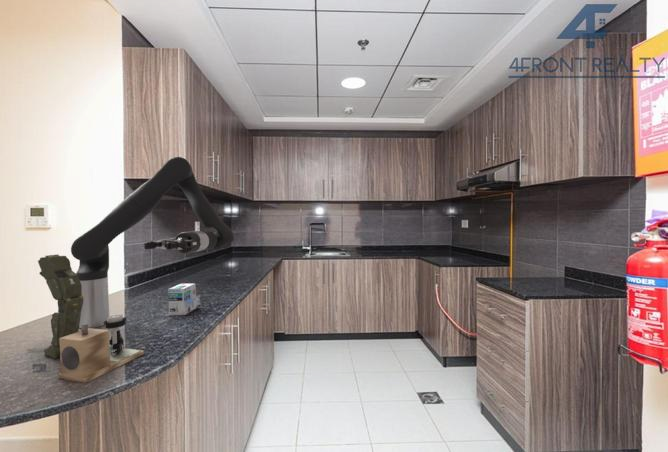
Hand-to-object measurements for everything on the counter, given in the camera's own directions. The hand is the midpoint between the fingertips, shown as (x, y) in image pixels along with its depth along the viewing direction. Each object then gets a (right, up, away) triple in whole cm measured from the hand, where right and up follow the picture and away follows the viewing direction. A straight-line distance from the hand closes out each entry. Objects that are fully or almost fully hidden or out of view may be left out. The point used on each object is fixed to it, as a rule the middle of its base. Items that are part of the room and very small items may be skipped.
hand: (156, 246), depth 98 cm
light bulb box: (-7, -30, +32) cm, 44 cm away
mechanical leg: (-22, -31, -7) cm, 39 cm away
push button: (-5, -29, -10) cm, 32 cm away
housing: (-5, -31, -15) cm, 35 cm away
